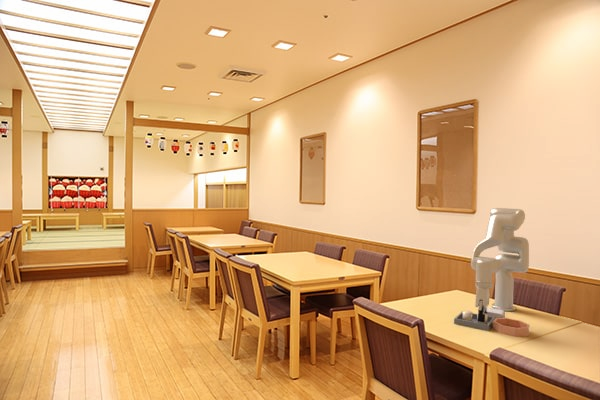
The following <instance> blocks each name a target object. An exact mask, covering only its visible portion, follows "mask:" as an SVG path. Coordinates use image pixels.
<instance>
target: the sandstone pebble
mask: <svg viewBox="0 0 600 400" xmlns="http://www.w3.org/2000/svg"><path fill="white" fill-rule="evenodd" d="M462 311H463V319H462V320H466V321H471V322H472V313H473V311H470V310H462Z"/></svg>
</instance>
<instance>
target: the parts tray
mask: <svg viewBox="0 0 600 400" xmlns="http://www.w3.org/2000/svg"><path fill="white" fill-rule="evenodd" d="M463 311H464V310H462V311H461V312H460V313H459V314H457V316H455V317H454V319H453V324H454V325H458V326H463V327H468V328H473V329H476V330H477V329H478V330H482V331H487V332H489V331H490V330H491V329H492V328H493V321H494V319H495V317H490V316H488V317H487V325H486V324H481V323H477V315H478V313H473V312H472V322H471V321H466V320H462V319H463Z"/></svg>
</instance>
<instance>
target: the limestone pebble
mask: <svg viewBox="0 0 600 400" xmlns="http://www.w3.org/2000/svg"><path fill="white" fill-rule="evenodd" d="M484 314H485V322H479V321H478V315H477V323H481V324H486V325H487V317H488V314H486V313H484Z"/></svg>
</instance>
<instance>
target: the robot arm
mask: <svg viewBox="0 0 600 400" xmlns="http://www.w3.org/2000/svg"><path fill="white" fill-rule="evenodd" d="M489 215H490V217H489V221H488V225H487V228H486V233H485V238H484V239H482V240H481V241H480V242H479V243H477V245H476V246H474V249H473V251H472V254H471V258H470V267H471V269H472V270H474V271H475V284H474V285H475V288H476V291H475V303H474V304H475V305H474V306H475V308H477V309H478V311H477V314H478V321H479V322H485V314H484V313H486V314H487V312H486V311H487V308H488V306H489V305H490V294H491V293H490V290H492V289H493V274H495V282H494V283H495V286H494V290H495V291H494V303H493V302H492V303H491V308H493V309H499V310H503V311H505V312H513V311H516V310H517V309H516V308H517V307H516V306H514V291H515V290H514V288H515V284H514V283H515V278H514V275H513V274H512V273H511V272H514V273H520V274H523V273H525V274H526V273H527V272H528V271H529V268H530V243H529V241H528V239H527V238H526V237H523V236H515V231H518V230H519V229H520V228H521V226H522V225H523V224H524V221H525V219H526V213H525V211H524V210H523V209H520V208H508V207H507V208H506V207H495V208H492V209H491V210H490V211H489ZM494 247H497V249H498V251H500V252H503V253H498V254H496V255H495V257H487V256H480V255H481V253H483V252H484V251H486V250H488V249H491V248H494ZM507 253H508V254H507ZM510 253H511V254H510Z"/></svg>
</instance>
